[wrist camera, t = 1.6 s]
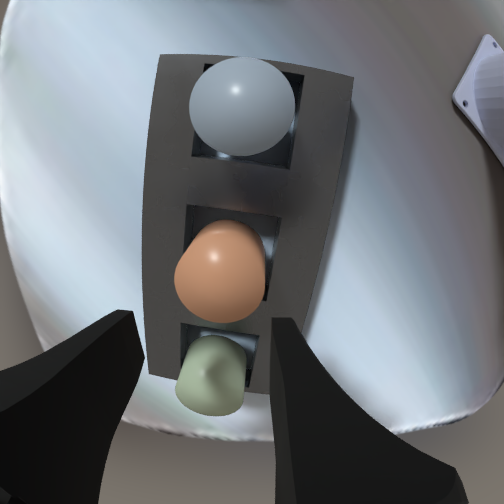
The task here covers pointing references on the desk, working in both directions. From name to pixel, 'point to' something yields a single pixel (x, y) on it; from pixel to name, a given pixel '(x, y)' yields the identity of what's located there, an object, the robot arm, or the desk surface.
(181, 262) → the orange rounded block
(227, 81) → the slate button
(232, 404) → the sage button
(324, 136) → the button panel
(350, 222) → the desk surface
